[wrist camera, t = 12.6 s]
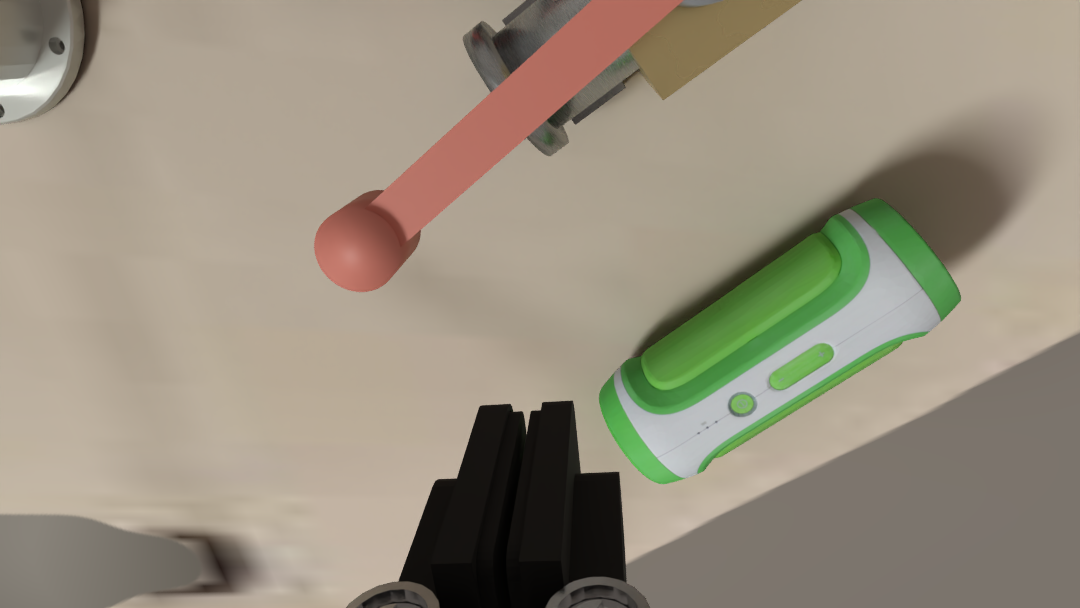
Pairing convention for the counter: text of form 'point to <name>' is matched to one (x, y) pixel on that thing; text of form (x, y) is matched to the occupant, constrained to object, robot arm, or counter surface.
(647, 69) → the pipe valve
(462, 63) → the counter surface
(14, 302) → the counter surface
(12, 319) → the counter surface
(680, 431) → the speaker
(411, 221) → the lever
